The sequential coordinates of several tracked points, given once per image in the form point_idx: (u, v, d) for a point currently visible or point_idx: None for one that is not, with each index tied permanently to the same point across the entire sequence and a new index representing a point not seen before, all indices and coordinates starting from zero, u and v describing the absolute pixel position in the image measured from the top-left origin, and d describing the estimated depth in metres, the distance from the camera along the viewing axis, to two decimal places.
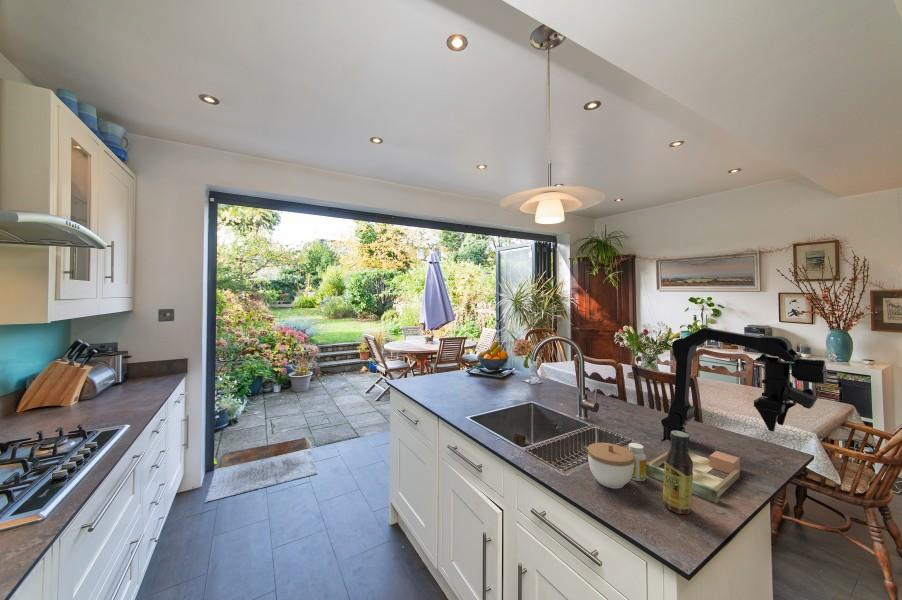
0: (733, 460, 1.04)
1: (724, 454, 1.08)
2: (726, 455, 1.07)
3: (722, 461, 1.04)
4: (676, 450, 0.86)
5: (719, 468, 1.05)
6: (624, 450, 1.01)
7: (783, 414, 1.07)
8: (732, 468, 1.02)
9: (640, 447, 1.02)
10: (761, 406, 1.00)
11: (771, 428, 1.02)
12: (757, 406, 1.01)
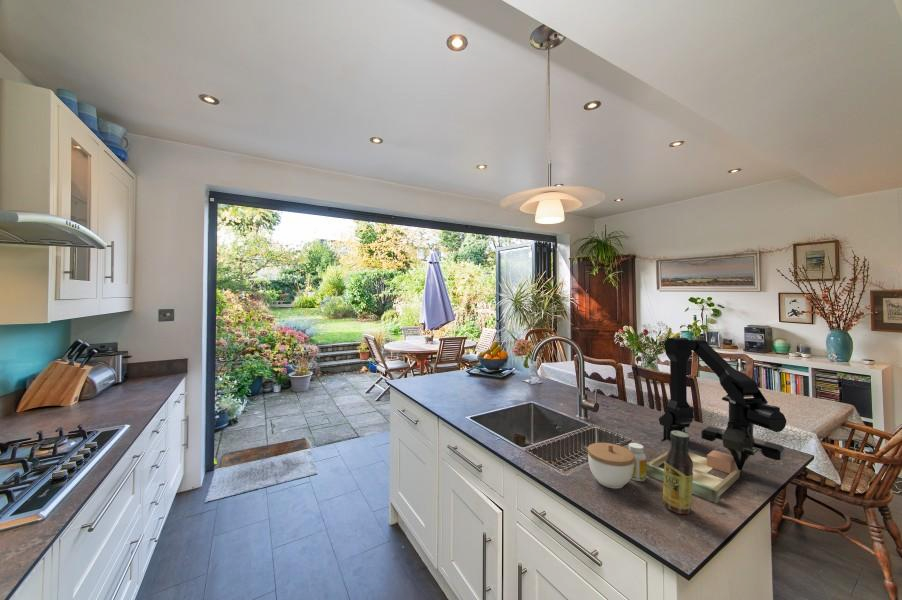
0: (730, 459, 1.04)
1: (722, 453, 1.08)
2: (723, 454, 1.08)
3: (720, 460, 1.05)
4: (676, 450, 0.86)
5: (716, 467, 1.06)
6: (624, 450, 1.01)
7: None
8: (729, 467, 1.03)
9: (640, 447, 1.02)
10: None
11: None
12: None
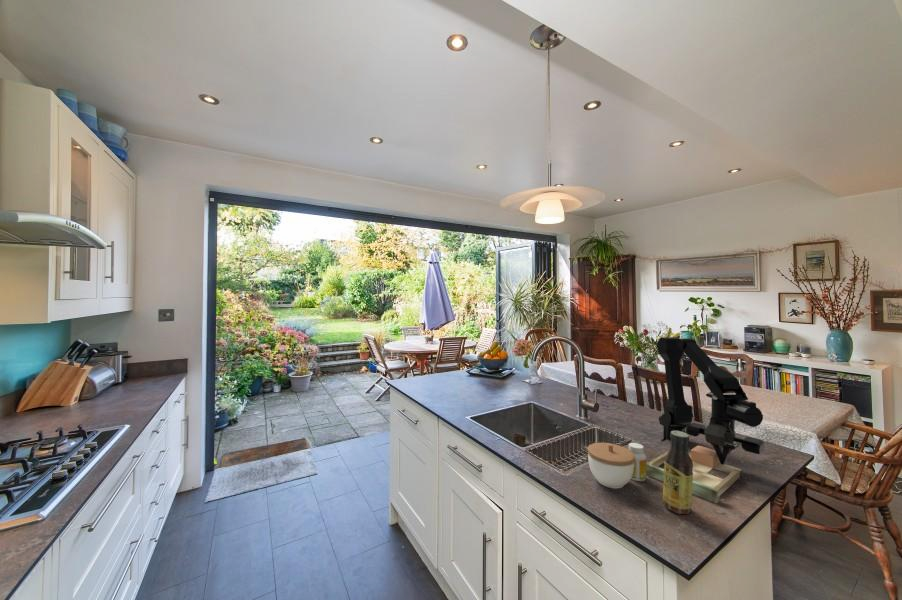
0: (713, 454, 1.08)
1: (705, 449, 1.12)
2: (706, 449, 1.11)
3: (703, 455, 1.08)
4: (676, 450, 0.86)
5: (700, 462, 1.09)
6: (624, 450, 1.01)
7: None
8: (712, 461, 1.07)
9: (640, 447, 1.02)
10: None
11: None
12: None
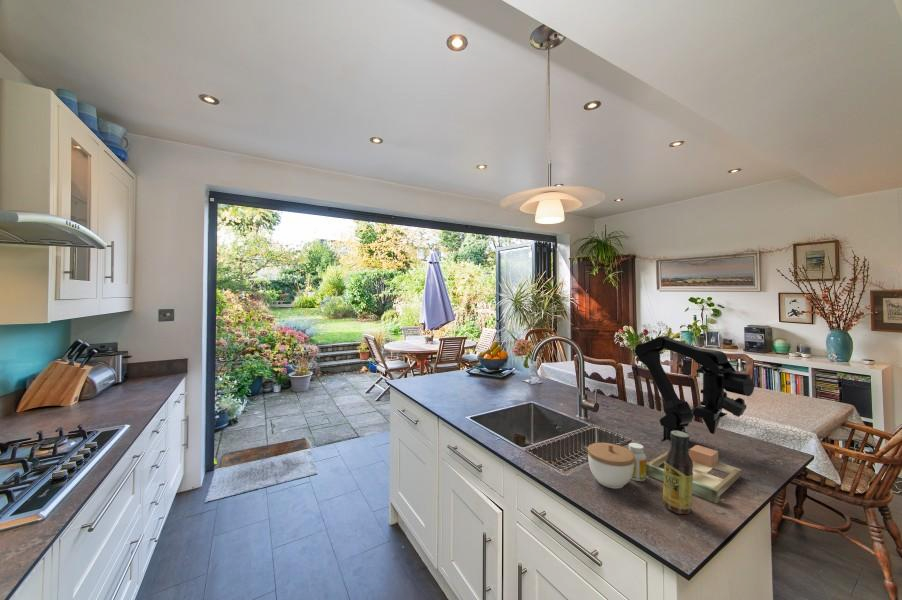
0: (711, 454, 1.08)
1: (704, 448, 1.12)
2: (705, 449, 1.12)
3: (701, 454, 1.09)
4: (676, 450, 0.86)
5: (698, 461, 1.10)
6: (624, 450, 1.01)
7: None
8: (710, 461, 1.07)
9: (640, 447, 1.02)
10: (697, 414, 1.11)
11: (712, 430, 1.15)
12: (694, 414, 1.12)
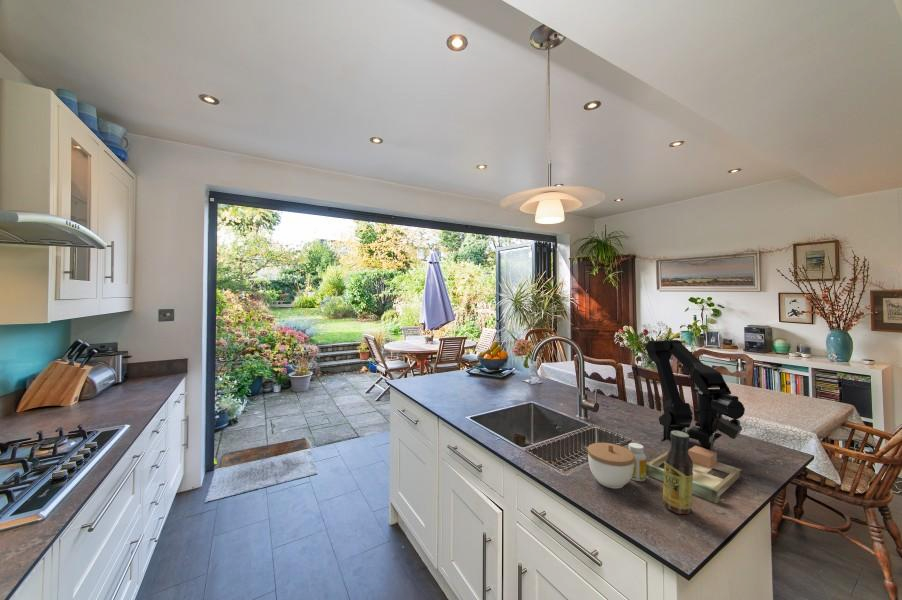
0: (710, 454, 1.08)
1: (702, 449, 1.12)
2: (704, 449, 1.11)
3: (700, 455, 1.08)
4: (676, 450, 0.86)
5: (697, 462, 1.09)
6: (624, 450, 1.01)
7: None
8: (709, 462, 1.06)
9: (640, 447, 1.02)
10: (692, 436, 1.08)
11: None
12: (689, 436, 1.09)
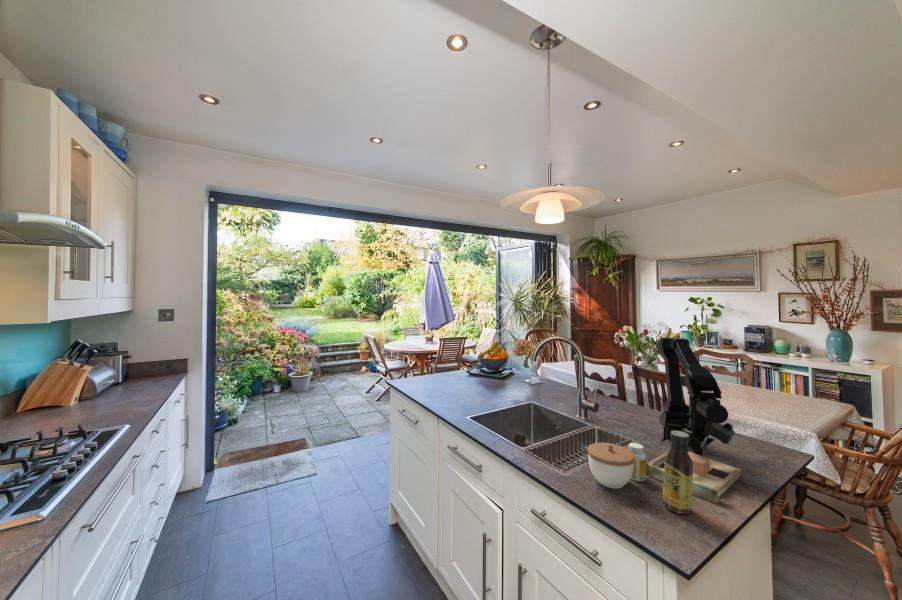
0: (703, 461, 1.03)
1: (695, 455, 1.07)
2: (696, 455, 1.07)
3: None
4: (676, 450, 0.86)
5: None
6: (624, 450, 1.01)
7: None
8: (702, 469, 1.02)
9: (640, 447, 1.02)
10: None
11: None
12: None
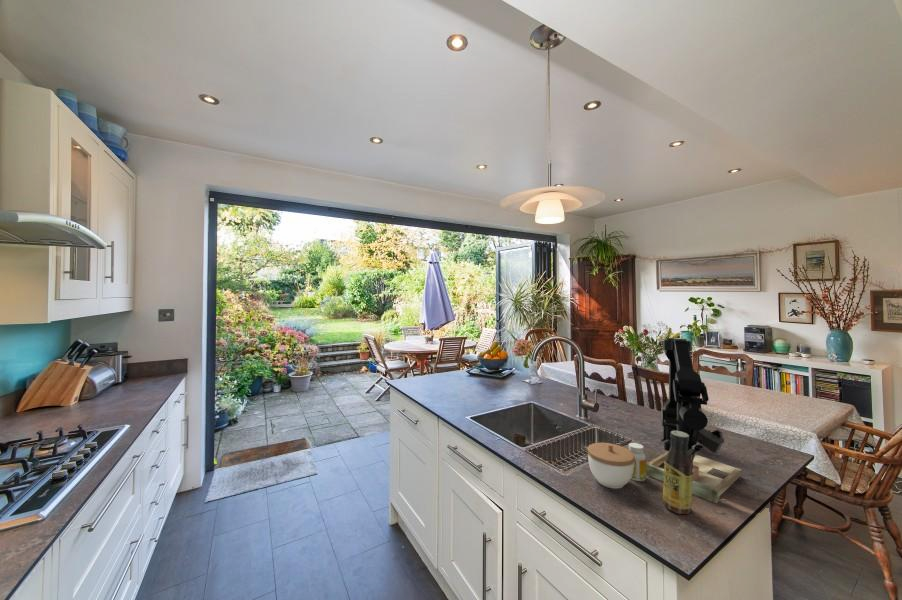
0: None
1: None
2: None
3: None
4: (676, 450, 0.86)
5: None
6: (624, 450, 1.01)
7: None
8: None
9: (640, 447, 1.02)
10: None
11: None
12: (666, 449, 1.00)
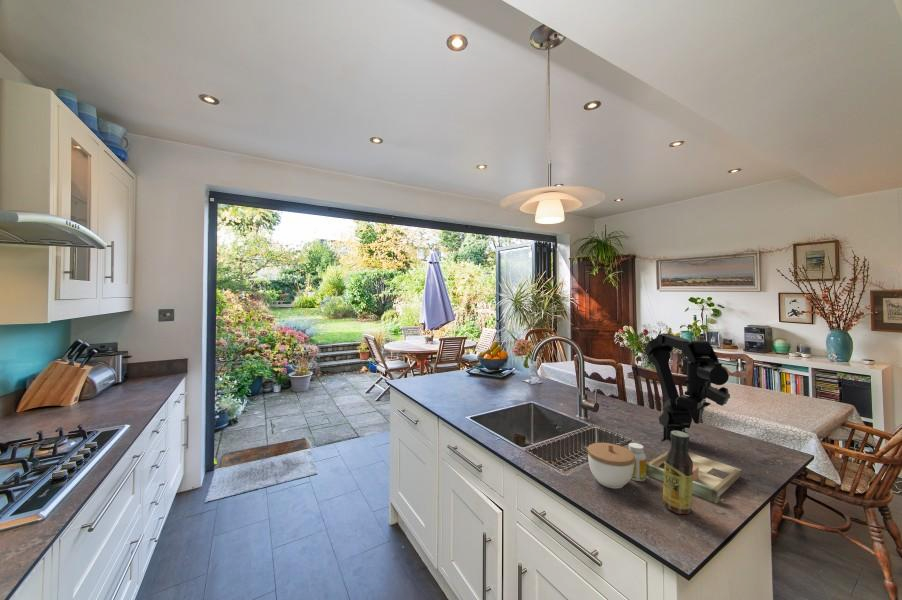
0: None
1: None
2: None
3: None
4: (676, 450, 0.86)
5: None
6: (624, 450, 1.01)
7: None
8: None
9: (640, 447, 1.02)
10: (681, 404, 1.11)
11: (696, 420, 1.15)
12: (678, 404, 1.11)
